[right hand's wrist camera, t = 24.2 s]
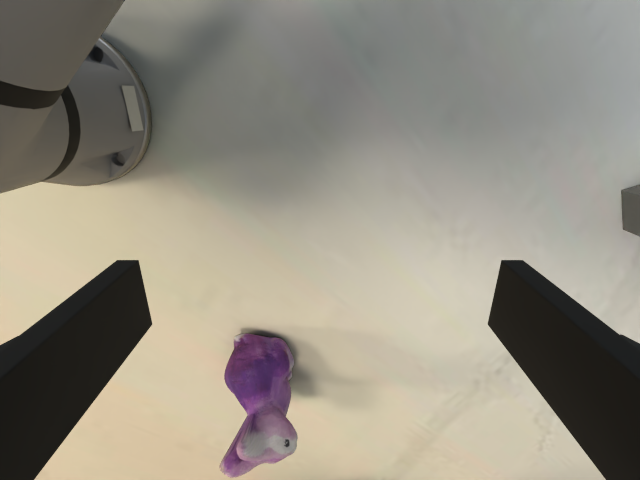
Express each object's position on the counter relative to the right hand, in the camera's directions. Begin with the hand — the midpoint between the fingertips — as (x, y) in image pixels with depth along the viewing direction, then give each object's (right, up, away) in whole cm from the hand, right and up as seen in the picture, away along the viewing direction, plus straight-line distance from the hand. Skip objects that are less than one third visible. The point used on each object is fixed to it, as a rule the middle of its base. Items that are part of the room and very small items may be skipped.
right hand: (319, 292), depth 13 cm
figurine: (-7, -14, +34) cm, 38 cm away
